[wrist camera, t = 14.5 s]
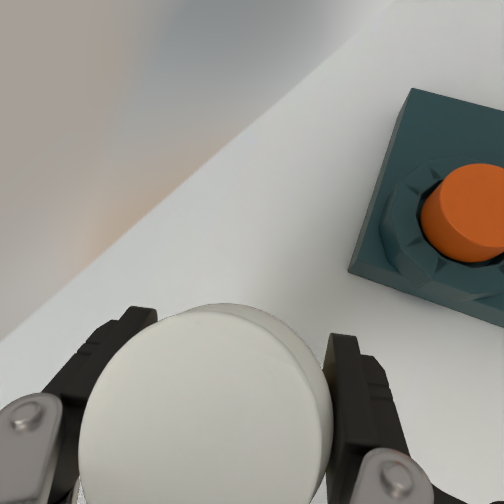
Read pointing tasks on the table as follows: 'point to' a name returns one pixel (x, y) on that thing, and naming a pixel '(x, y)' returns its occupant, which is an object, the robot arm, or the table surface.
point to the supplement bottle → (208, 414)
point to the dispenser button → (467, 214)
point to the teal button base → (414, 196)
